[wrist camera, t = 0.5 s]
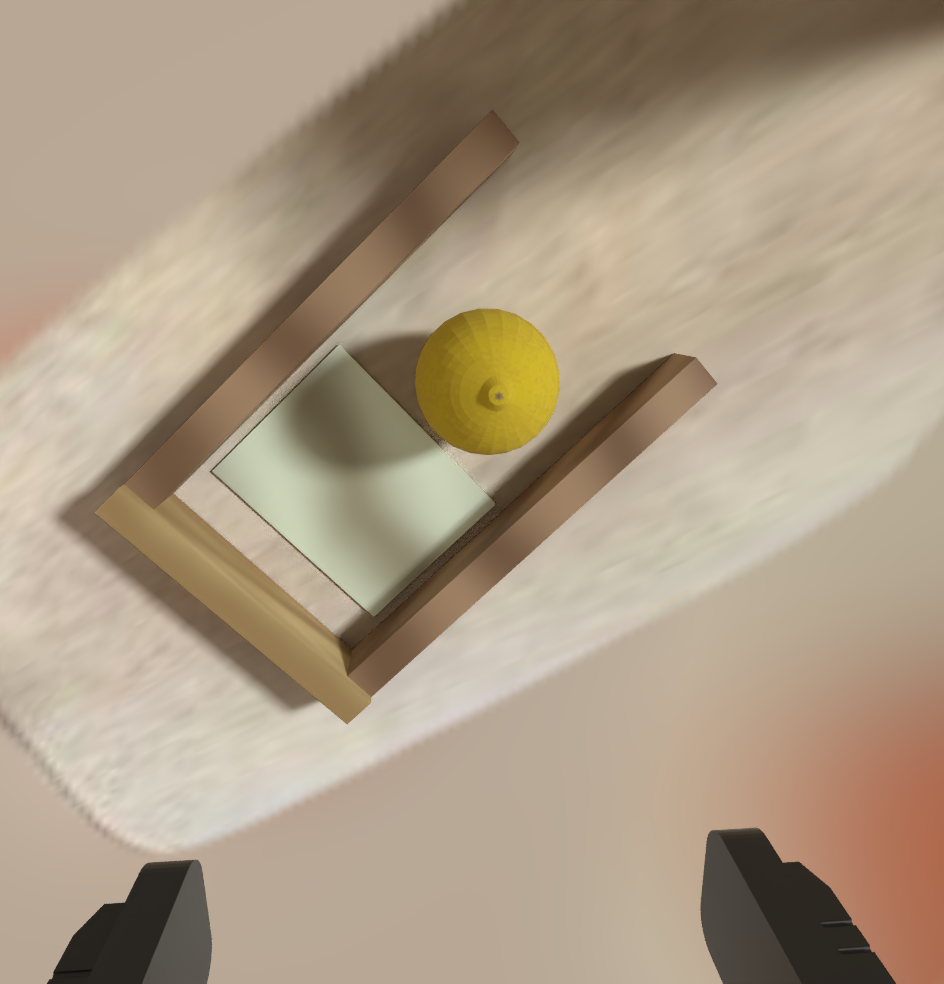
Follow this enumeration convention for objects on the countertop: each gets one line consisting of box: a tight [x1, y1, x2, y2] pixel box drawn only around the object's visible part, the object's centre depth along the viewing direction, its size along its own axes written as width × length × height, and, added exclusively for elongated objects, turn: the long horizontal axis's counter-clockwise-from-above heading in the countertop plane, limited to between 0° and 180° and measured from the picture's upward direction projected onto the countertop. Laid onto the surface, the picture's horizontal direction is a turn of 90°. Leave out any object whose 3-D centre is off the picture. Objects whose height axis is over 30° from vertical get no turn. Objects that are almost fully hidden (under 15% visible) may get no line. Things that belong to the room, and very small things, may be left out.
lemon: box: [415, 309, 559, 455], centre depth 27 cm, size 6×6×8 cm
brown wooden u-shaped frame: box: [94, 110, 717, 724], centre depth 30 cm, size 22×14×3 cm, turn 133°
